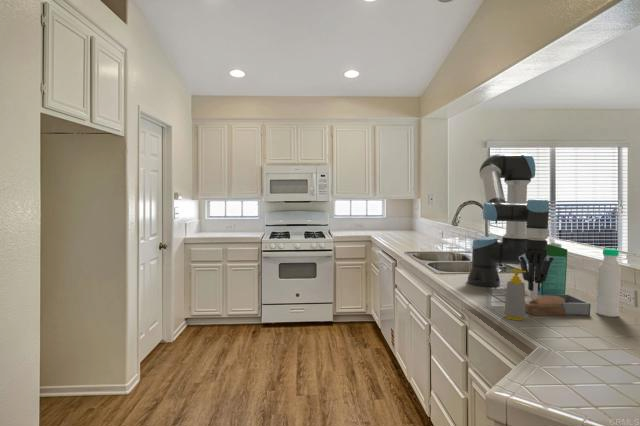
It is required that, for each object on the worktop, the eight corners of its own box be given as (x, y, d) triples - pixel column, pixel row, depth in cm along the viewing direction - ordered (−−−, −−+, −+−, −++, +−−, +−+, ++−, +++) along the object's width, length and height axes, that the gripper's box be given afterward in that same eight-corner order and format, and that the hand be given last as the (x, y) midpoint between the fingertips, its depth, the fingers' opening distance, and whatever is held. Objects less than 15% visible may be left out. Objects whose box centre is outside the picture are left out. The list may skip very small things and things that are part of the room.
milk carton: (564, 303, 161) (568, 243, 159) (541, 302, 163) (543, 243, 161) (556, 297, 170) (559, 241, 168) (533, 296, 171) (536, 240, 170)
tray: (543, 304, 159) (544, 294, 158) (568, 305, 159) (568, 294, 158) (563, 314, 146) (563, 303, 145) (589, 315, 146) (590, 303, 145)
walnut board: (513, 303, 160) (513, 296, 160) (542, 304, 160) (542, 296, 159) (532, 315, 145) (533, 307, 145) (564, 315, 145) (565, 307, 144)
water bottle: (612, 318, 142) (616, 251, 141) (591, 313, 149) (595, 248, 147) (622, 315, 146) (626, 249, 144) (601, 310, 152) (605, 247, 150)
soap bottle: (518, 322, 137) (520, 272, 136) (500, 316, 142) (502, 268, 141) (529, 319, 140) (531, 270, 139) (510, 313, 146) (512, 266, 145)
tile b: (544, 300, 154) (544, 295, 154) (557, 300, 154) (557, 295, 154) (551, 303, 149) (551, 298, 149) (564, 304, 149) (565, 299, 149)
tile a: (531, 300, 154) (532, 295, 154) (544, 300, 154) (544, 295, 154) (538, 303, 149) (538, 298, 149) (551, 303, 149) (551, 298, 149)
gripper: (524, 239, 147) (521, 301, 148) (558, 240, 147) (555, 301, 148) (514, 237, 154) (512, 295, 156) (547, 238, 154) (544, 296, 156)
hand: (533, 298), depth 152 cm, fingers closed
